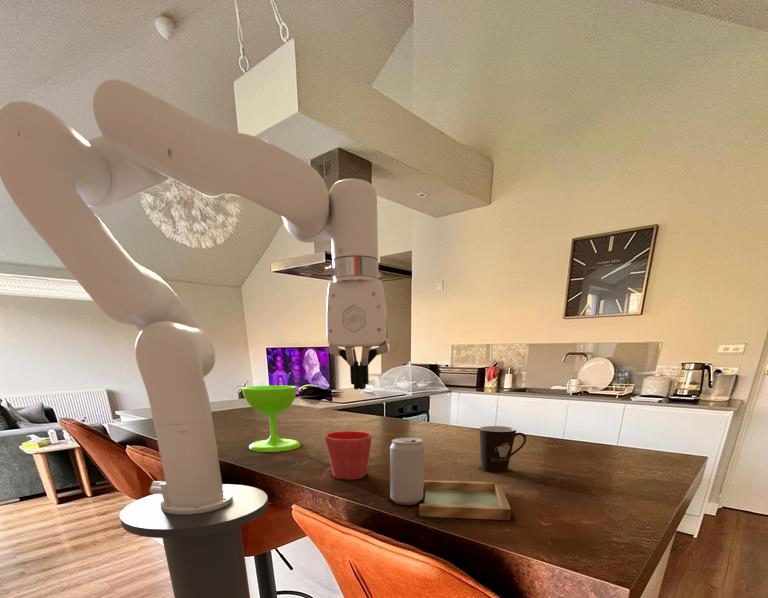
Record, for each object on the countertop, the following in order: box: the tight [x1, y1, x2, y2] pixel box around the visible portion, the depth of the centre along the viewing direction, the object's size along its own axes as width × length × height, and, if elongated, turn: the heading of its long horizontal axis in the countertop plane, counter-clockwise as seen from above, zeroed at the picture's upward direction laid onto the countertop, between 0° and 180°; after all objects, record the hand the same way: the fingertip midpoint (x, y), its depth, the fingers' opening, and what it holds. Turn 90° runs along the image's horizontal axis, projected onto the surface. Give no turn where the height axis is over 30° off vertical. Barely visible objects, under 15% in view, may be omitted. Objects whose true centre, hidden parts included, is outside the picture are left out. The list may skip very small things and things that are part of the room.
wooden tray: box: [418, 479, 512, 521], centre depth 80 cm, size 16×16×2 cm
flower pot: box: [324, 430, 372, 481], centre depth 98 cm, size 11×11×10 cm
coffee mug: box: [479, 425, 527, 473], centre depth 103 cm, size 12×9×10 cm
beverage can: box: [389, 437, 425, 506], centre depth 80 cm, size 6×6×12 cm
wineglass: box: [241, 385, 302, 453], centre depth 130 cm, size 16×16×18 cm
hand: (360, 388), depth 76 cm, fingers closed
